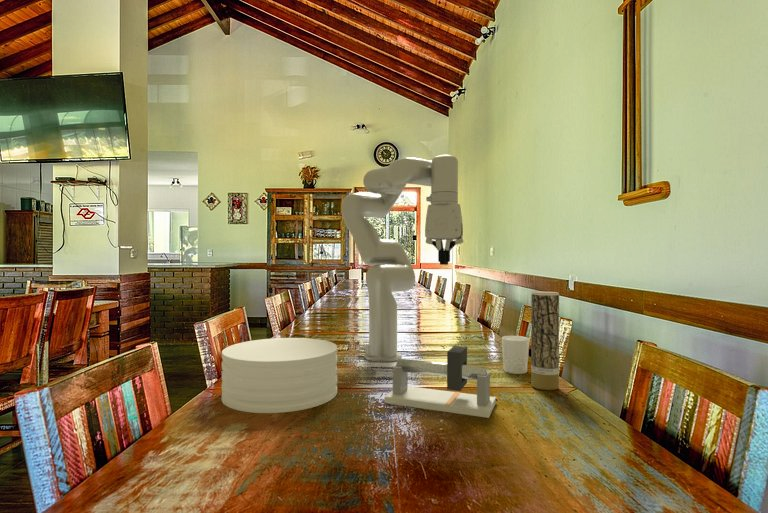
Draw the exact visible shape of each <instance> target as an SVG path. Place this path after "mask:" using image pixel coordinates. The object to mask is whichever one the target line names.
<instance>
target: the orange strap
mask: <svg viewBox="0 0 768 513" xmlns="http://www.w3.org/2000/svg"><path fill="white" fill-rule="evenodd" d="M454 392H455V393H454V394H453V395H452V396H451V398H450V399H449V400H448V401H447V402H446V404H445V405H449V406H450V405H451V404H452V403H453V401H454V400H455V399H456V398H457V396H458V395H459V394H460V393H461V391H454Z"/></svg>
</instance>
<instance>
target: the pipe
mask: <svg viewBox="0 0 768 513" xmlns="http://www.w3.org/2000/svg"><path fill="white" fill-rule="evenodd" d="M395 365H396V366H400V367H402V370H403V372H408V373H413V374H422V375H430V376H431V375H432V376H440V377H447V362H440V361H438V362H437V361H430V360H429V361H428V360H419V359H409V358H401V359H400V358H398V360H396V364H395ZM487 371H488V368H487V366H479V365H469V364H467V365H462V378H465V379H467V380H475V381H477V375H485V374H486V373H487Z"/></svg>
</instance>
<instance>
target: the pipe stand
mask: <svg viewBox="0 0 768 513" xmlns="http://www.w3.org/2000/svg"><path fill="white" fill-rule="evenodd" d="M408 374H409V372H403V370H402V367H400V366H396V364H395V365H393V366H392V390H391V391H390V392H388V394H386V395H385V396H384V404H388V405H396V406H403V407H408V408H409V407H410V408H418V409H424V410H430V411H438V412H444V413H451V414H460V415H465V416H473V417H481V418H487V419H489V418H490V416H491V414H492V412H493V410H494V408H495V405H496V404H497V398H496V397H497V396H491V390H490V389H491V385H490V384H491V371H489V370H487V373H486V374H485V375H477V380H476V394H475V393H465V392H460V394H459V395H458V396H457V398H456V399H455V400H454V401H453V403H452V404H451V405H450V406H449V405H445V404H446V402H447V401H448V400H449V399H450V398H451V396H452V395H453V394H454V393H455V392H456V391H452V390H442V389H434V388H424V387H417V386H409V385H408V380H409V379H408V378H409V377H408Z"/></svg>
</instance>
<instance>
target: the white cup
mask: <svg viewBox="0 0 768 513" xmlns="http://www.w3.org/2000/svg"><path fill="white" fill-rule="evenodd" d="M529 347H530V338H529V337H526V336H522V335H504V336H502V337H501V352H502V353H501V354H502V362H503V364H502V368H503V372H505V373H506V374H507V373H508V374H512V375H524V374H527V372H528V362H529V349H530V348H529Z"/></svg>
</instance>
